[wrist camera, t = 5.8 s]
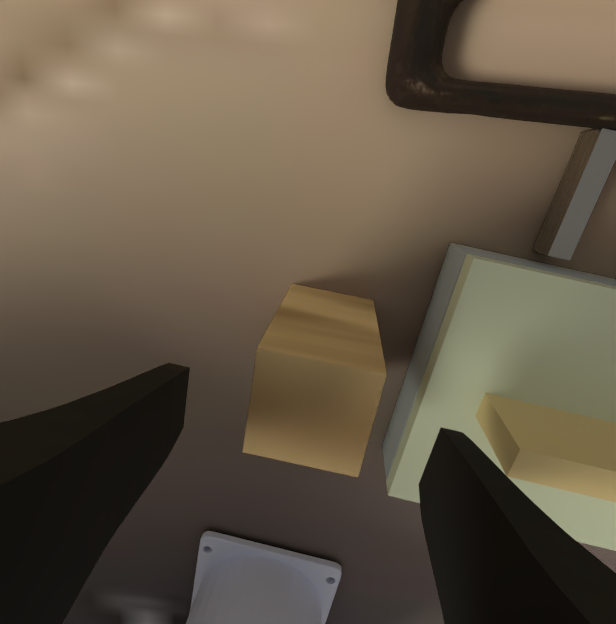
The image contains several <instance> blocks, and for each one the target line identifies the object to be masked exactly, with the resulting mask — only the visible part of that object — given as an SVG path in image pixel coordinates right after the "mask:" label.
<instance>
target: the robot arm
mask: <svg viewBox="0 0 616 624" xmlns="http://www.w3.org/2000/svg"><path fill="white" fill-rule="evenodd" d="M189 370H190V368H188V367H184V366H180V365H176V364H171V363H167V364H164V365H162V366H159V367H157V368H154V369H152V370H150V371H147V372H145V373H143V374H140V375H138V376H136V377H133V378H131V379H129V380H126V381H124V382H121V383H119V384H117V385H114V386H112V387H110V388H107V389H105V390H102V391H99V392H97V393H94V394H91V395H88V396H86V397H83V398H80V399H78V400H75V401H72V402H70V403H67V404H64V405H61V406H58V407H55V408H52V409H49V410H46V411H42V412H39V413H35V414H32V415H28V416H25V417H21V418H18V419H14V420H10V421H6V422H2V423H0V624H62V623H63V621H64V619H65V617H66V616H67V614H68V612H69V610H70V608H71V607H72V605H73V603H74V601H75V599H76V598H77V596H78V594H79V592H80V590H81V589H82V587H83V585H84V583H85V582H86V580H87V578H88V576H89V575H90V573H91V571H92V570H93V568H94V566H95V564H96V563H97V561H98V559H99V557H100V556H101V554H102V552H103V550H104V549H105V547H106V546H107V544H108V542H109V541H110V539H111V538H112V536H113V535H114V533H115V532H116V530H117V529H118V527H119V526H120V524H121V523H122V522H123V520H124V519H125V517H126V516H127V515H128V513H129V512H130V510H131V509H132V507H133V506H134V505H135V503H136V502H137V500H138V499H139V498H140V496H141V495H142V493H143V492H144V490H145V489H146V488H147V486H148V485H149V483H150V482H151V481H152V479H153V478H154V476H155V475H156V473H157V472H158V470H159V469H160V468H161V466H162V465H163V463H164V462H165V460H166V459H167V457H168V455H169V453H170V452H171V450H172V448H173V446H174V444H175V442H176V440H177V438H178V436H179V434H180V433H181V431H182V429H183V424H184V415H185V406H186V397H187V388H188V379H189ZM419 496H420V507H421V517H422V523H423V528H424V533H425V537H426V542H427V546H428V551H429V555H430V560H431V564H432V568H433V573H434V577H435V582H436V586H437V590H438V595H439V599H440V603H441V608H442V612H443V618H444V623H445V624H616V573H615V572H614V571H612V570H611V569H610V568H608V567H607V566H606V565H605V564H603V563H602V562H601V561H600V560H599V559H597V558H596V557H595V556H594V555H593V554H591V553H590V552H589V551H588V550H586V549H585V548H584V547H583V546H582V545H580V544H579V543H578V542H577V541H576V540H574V539H573V538H572V537H571V536H570V535H569V534H567V533H566V532H565V531H564V530H563V529H562V528H561V527H559V526H558V525H557V524H556V523H555V522H554V521H553V520H552V519H551V518H550V517H549V516H548V515H546V514H545V513H544V512H543V511H542V510H541V509H540V508H539V507H538V506H537V505H536V504H535V503H534V502H533V501H531V500H530V499H529V498H528V497H527V496H526V495H525V494H524V493H523V492H522V491H521V490H520V489H519V488H518V487H517V486H516V485H515V484H514V483H513V482H512V481H511V480H510V479H509V478H508V477H507V476H506V475H505V474H504V473H503V472H502V471H501V470H500V469H499V468H498V467H497V466H496V465H495V464H494V462H493V461H492V460H491V459H490V458H489V457H488V456H487V455H486V454H485V453H484V452H483V451H482V450H481V449H480V448H479V447H478V446H477V445H476V444H475V443H474V442H473V441H472V440H471V439H470V438H469V437H467V436H466V435H465V434H464V433H463V432H459V431H455V430H451V429H446V428H442V427H441V428H440V430H439V433H438V436H437V438H436V441H435V443H434V446H433V448H432V451H431V454H430V456H429V459H428V461H427V464H426V466H425V469H424V472H423V474H422V477H421V479H420V482H419ZM341 574H342V568H341V566H340V565H339V564H338V563H336V562H333V561H329V560H325V559H321V558H317V557H313V556H309V555H305V554H301V553H297V552H293V551H289V550H285V549H281V548H277V547H273V546H269V545H265V544H261V543H257V542H253V541H249V540H245V539H241V538H237V537H233V536H229V535H225V534H221V533H217V532H213V531H206V532H204V533H203V535H202V537H201V539H200V544H199V551H198V558H197V565H196V572H195V579H194V586H193V593H192V600H191V607H190V613H189V616H188V619H187V621H186V624H325V623H326V620H327V617H328V614H329V611H330V608H331V605H332V602H333V599H334V596H335V593H336V590H337V587H338V584H339V582H340V579H341Z"/></svg>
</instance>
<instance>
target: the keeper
mask: <svg viewBox="0 0 616 624" xmlns="http://www.w3.org/2000/svg"><path fill="white" fill-rule="evenodd" d="M615 160H616V131H614V130H609V129H604V128H600V129H595V130H590V131H585V132H581V134H580V136H579V139H578V141H577V144H576V146H575V148H574V151H573V153H572V156H571V158H570V161H569V163H568V165H567V168H566V170H565V173H564V175H563V177H562V180H561V182H560V185H559V187H558V190H557V192H556V194H555V197H554V199H553V202H552V204H551V206H550V209H549V211H548V214H547V216H546V219H545V221H544V223H543V226H542V228H541V231H540V233H539V235H538V238H537V240H536V243H535V245H534V248H533V250H535V251H537V252H540V253H542V254H545V255H547V256H551V257H556V258H560V259H565V260H569V261H570V259H571V257H572V255H573V253H574V251H575V248H576V246H577V244H578V242H579V239H580V237H581V235H582V233H583V231H584V228H585V226H586V224H587V222H588V220H589V217H590V215H591V213H592V211H593V209H594V206H595V204H596V202H597V200H598V198H599V195H600V193H601V191H602V189H603V187H604V184H605V182H606V180H607V178H608V175H609V173H610V171H611V169H612V167H613V164H614V162H615Z"/></svg>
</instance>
